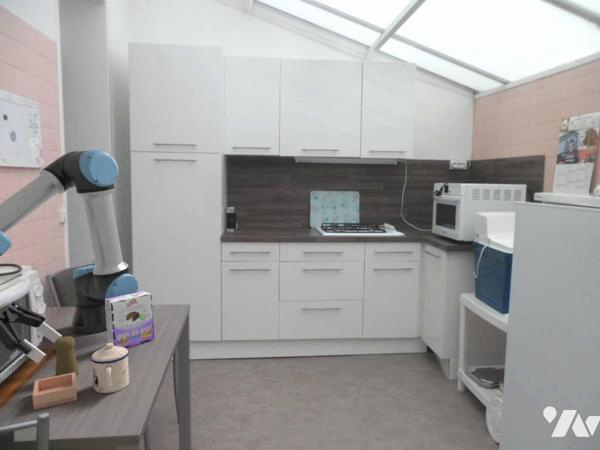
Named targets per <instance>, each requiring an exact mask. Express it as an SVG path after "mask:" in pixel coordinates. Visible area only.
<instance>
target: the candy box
mask: <svg viewBox="0 0 600 450" xmlns="http://www.w3.org/2000/svg"><path fill="white" fill-rule="evenodd" d="M105 312H106V327H107V330H106V337H107V339H106V340H107V341H106V342H107V343H113V344H114V346H118V347H124V348H126V349H128V348H130V347H134V346H137V345H140V344H143V343H146V342H150V341H153V340H155V326H154V325H155V324H154V312H153V295H152V293H150V292H148V291H146V290H141V291H138V292H137V293H132V294H127V295H123V296H118V297H113V298H108V299H105ZM107 343H106V344H107Z"/></svg>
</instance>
